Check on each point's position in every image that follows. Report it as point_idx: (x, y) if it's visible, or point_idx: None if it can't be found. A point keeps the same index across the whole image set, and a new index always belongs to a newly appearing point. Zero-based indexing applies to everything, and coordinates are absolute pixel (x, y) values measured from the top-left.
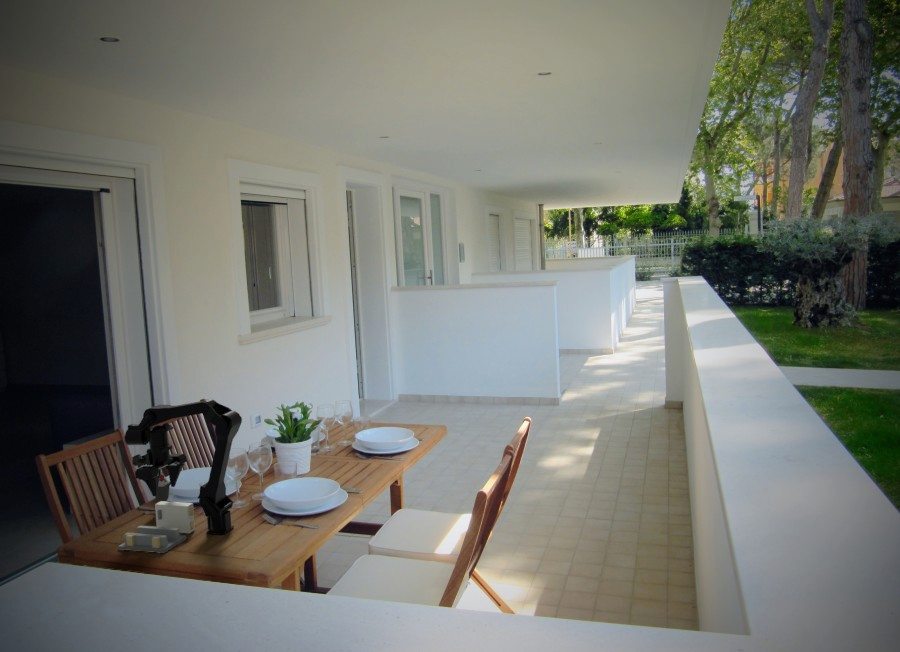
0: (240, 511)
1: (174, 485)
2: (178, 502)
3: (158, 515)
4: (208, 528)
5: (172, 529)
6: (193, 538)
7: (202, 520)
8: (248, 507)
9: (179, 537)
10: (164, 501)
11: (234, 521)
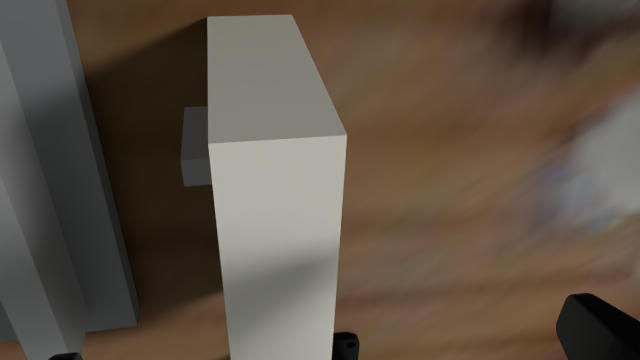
0: None
1: (567, 353)
2: (325, 337)
3: (183, 137)
4: None
5: (36, 355)
6: (166, 329)
7: (449, 208)
8: (629, 304)
9: (92, 314)
10: (338, 188)
11: (431, 354)
